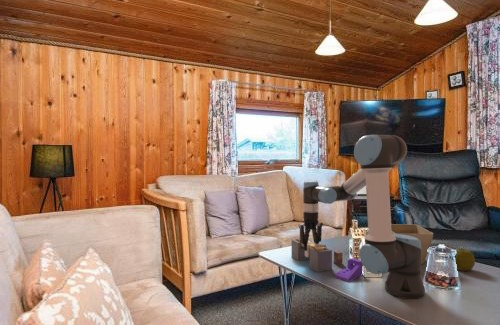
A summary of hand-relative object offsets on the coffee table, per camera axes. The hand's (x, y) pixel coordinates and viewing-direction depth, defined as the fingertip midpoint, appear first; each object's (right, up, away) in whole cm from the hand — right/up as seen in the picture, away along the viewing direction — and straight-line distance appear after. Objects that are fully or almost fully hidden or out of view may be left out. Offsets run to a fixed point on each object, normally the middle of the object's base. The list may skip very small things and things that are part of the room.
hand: (310, 255), depth 176 cm
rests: (+11, -3, +5) cm, 13 cm away
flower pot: (+50, -3, +3) cm, 50 cm away
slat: (0, +4, 0) cm, 4 cm away
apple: (+72, -4, -11) cm, 72 cm away
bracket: (+15, -5, -18) cm, 24 cm away
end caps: (0, -3, 0) cm, 3 cm away
